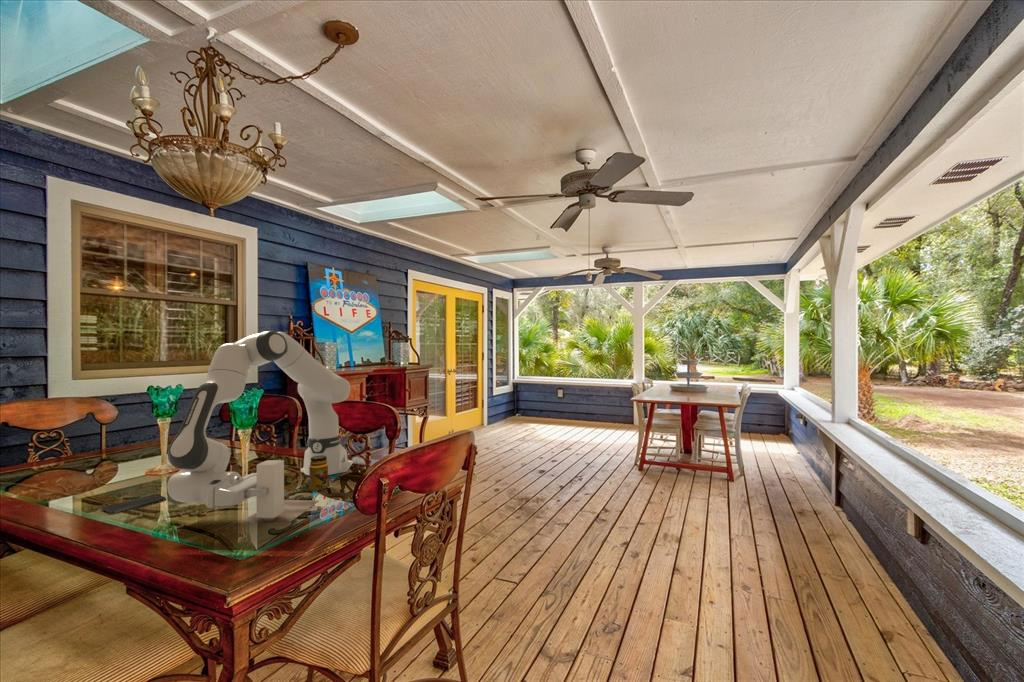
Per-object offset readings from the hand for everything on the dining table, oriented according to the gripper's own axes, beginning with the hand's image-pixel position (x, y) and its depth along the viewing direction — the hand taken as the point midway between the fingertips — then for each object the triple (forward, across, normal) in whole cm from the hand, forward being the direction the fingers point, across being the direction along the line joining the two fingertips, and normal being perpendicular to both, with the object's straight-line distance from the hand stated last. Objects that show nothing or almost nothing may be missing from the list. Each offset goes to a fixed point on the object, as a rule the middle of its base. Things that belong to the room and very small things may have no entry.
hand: (273, 487), depth 136 cm
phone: (-53, -13, -11) cm, 55 cm away
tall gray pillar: (-1, 0, -8) cm, 8 cm away
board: (-1, -7, -10) cm, 12 cm away
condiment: (-1, -29, -10) cm, 31 cm away
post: (-1, 0, -9) cm, 9 cm away
